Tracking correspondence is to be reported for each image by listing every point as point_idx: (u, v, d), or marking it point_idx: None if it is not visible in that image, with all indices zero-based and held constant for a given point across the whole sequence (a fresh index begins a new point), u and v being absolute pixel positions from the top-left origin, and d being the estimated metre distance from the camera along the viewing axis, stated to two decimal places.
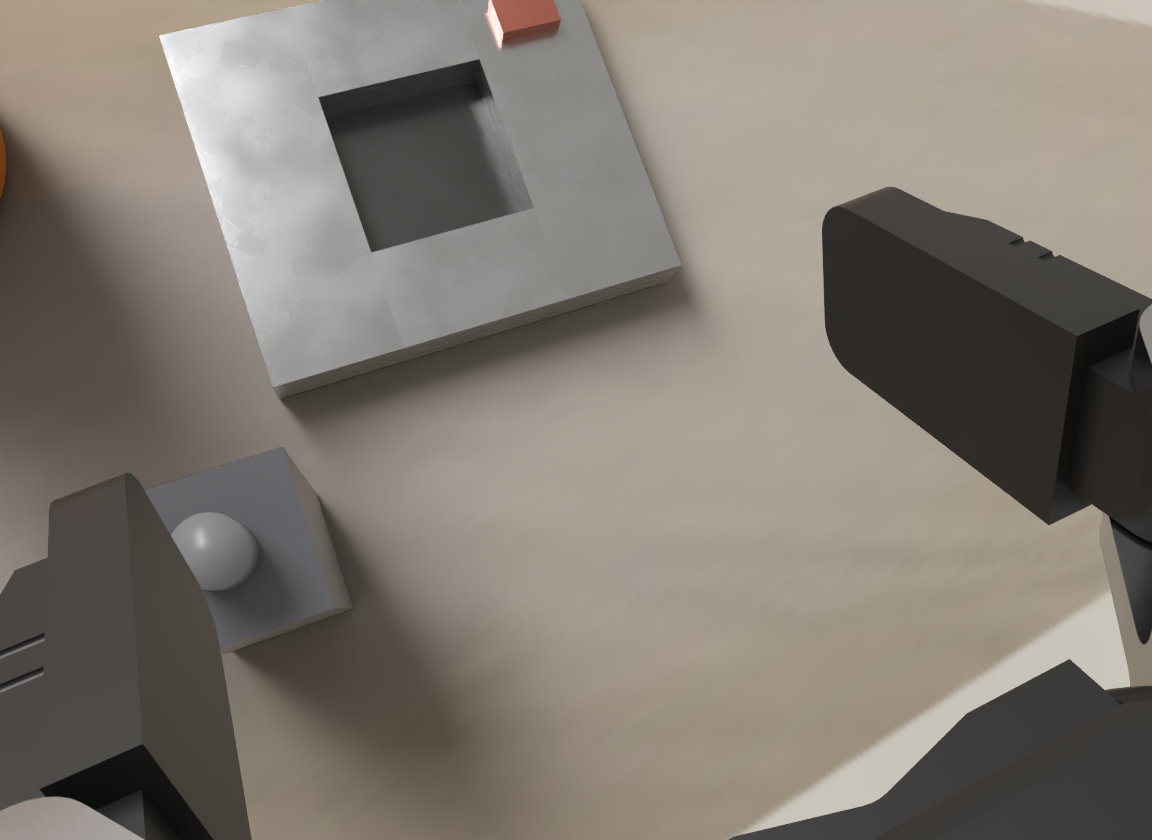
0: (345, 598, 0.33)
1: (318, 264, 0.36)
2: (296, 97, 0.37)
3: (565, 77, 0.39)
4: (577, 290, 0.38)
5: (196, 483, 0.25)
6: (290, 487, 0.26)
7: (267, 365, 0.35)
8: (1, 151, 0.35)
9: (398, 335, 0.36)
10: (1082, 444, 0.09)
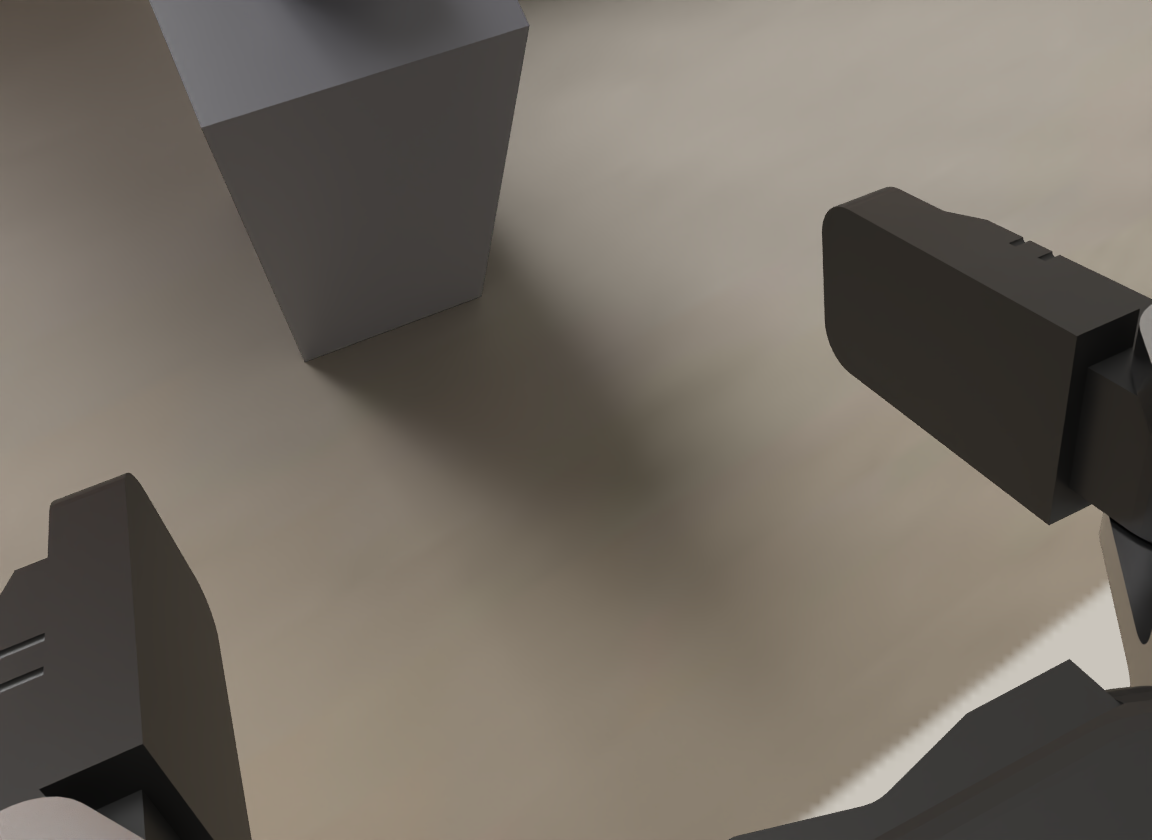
0: None
1: None
2: None
3: None
4: None
5: None
6: None
7: None
8: None
9: None
10: (1082, 444, 0.09)
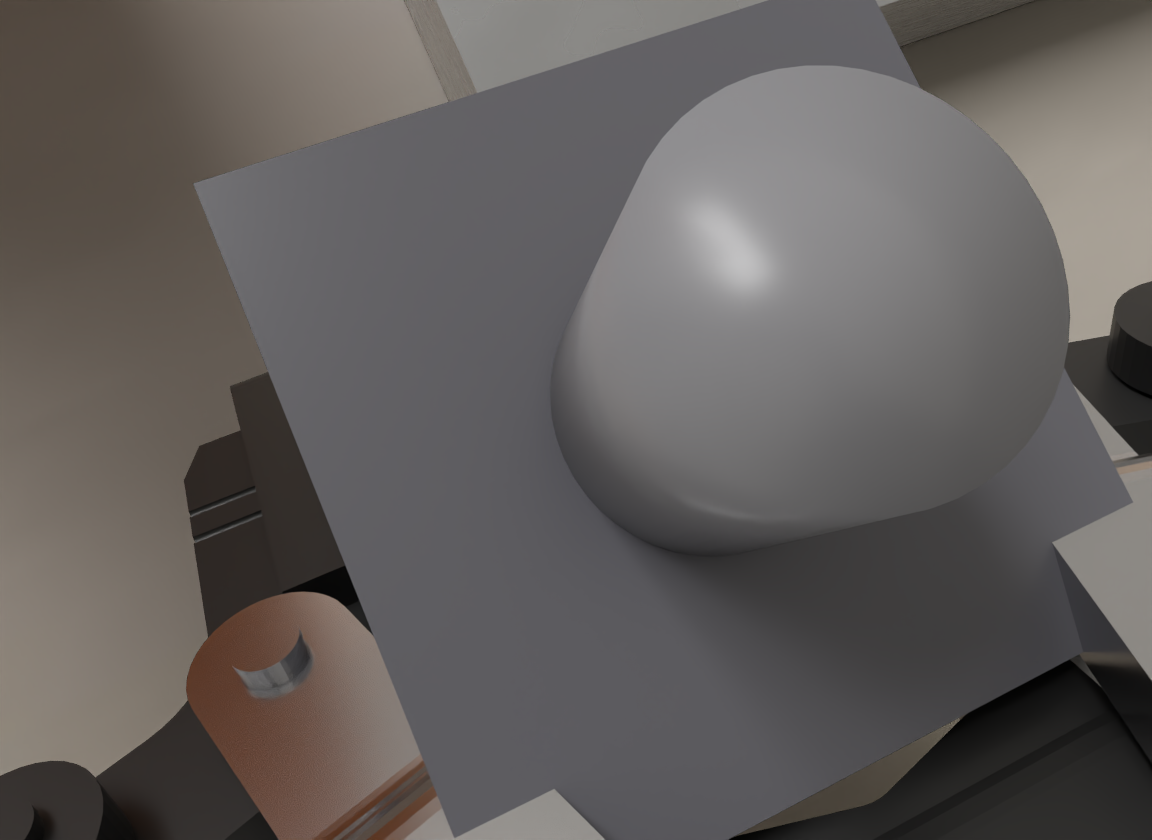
0: None
1: None
2: None
3: None
4: None
5: (557, 106, 0.06)
6: None
7: (479, 88, 0.16)
8: None
9: None
10: None
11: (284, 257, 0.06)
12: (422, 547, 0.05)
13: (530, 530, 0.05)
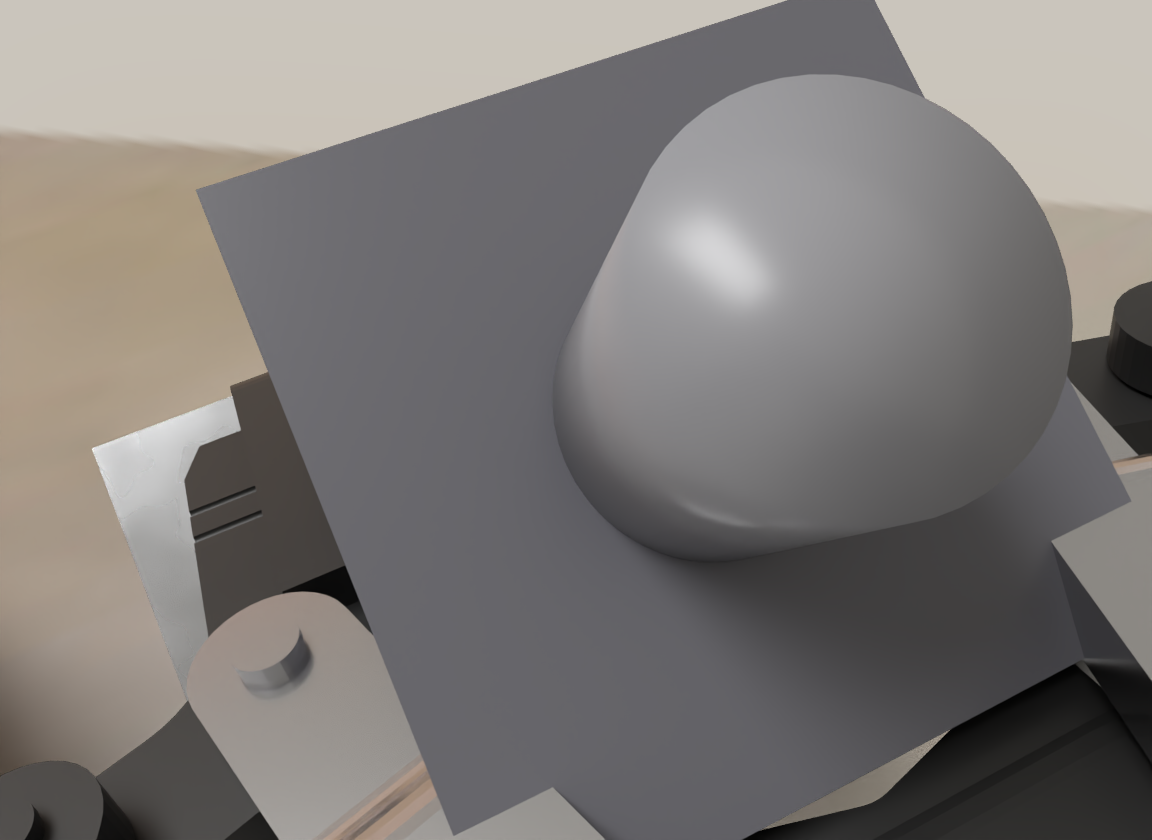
0: None
1: None
2: None
3: None
4: None
5: (559, 112, 0.06)
6: None
7: None
8: None
9: None
10: None
11: (286, 264, 0.06)
12: (424, 551, 0.05)
13: (531, 535, 0.05)
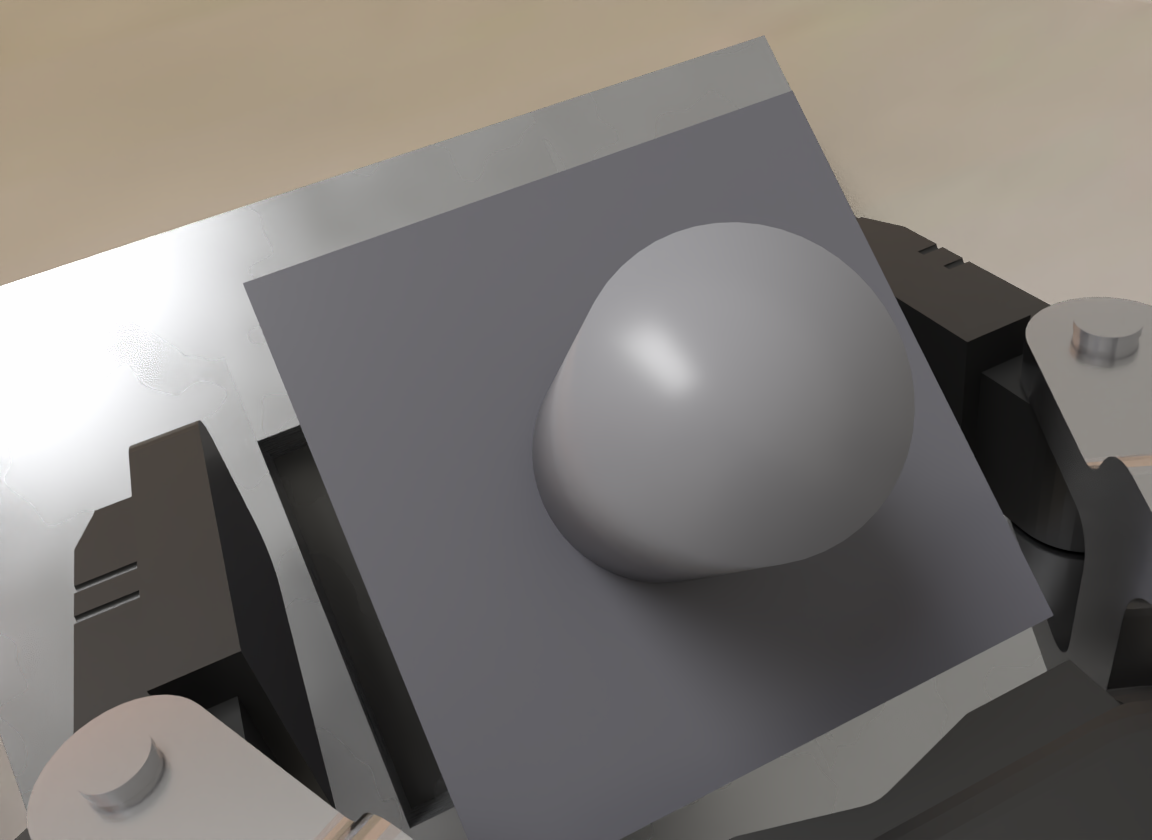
0: None
1: None
2: None
3: None
4: None
5: (538, 213, 0.07)
6: (840, 220, 0.08)
7: None
8: None
9: None
10: (980, 447, 0.09)
11: (316, 342, 0.07)
12: (430, 576, 0.07)
13: (516, 562, 0.07)
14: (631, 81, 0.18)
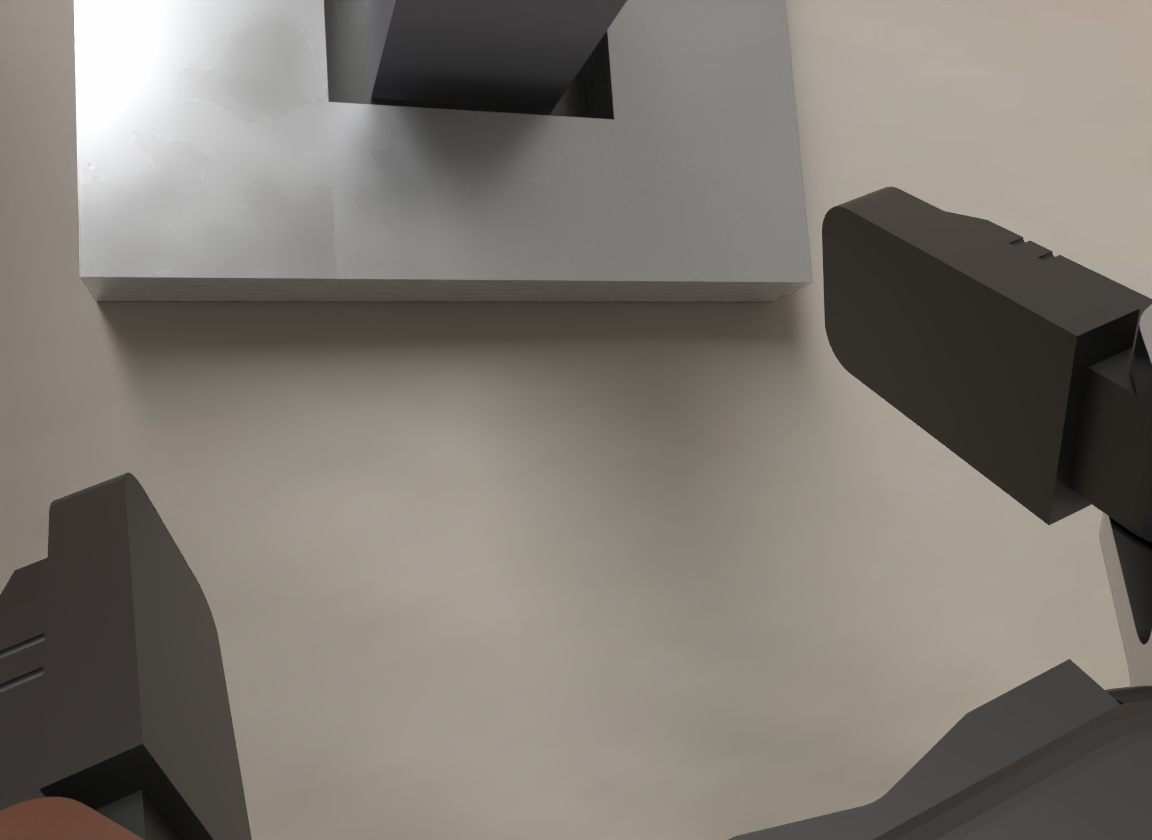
0: None
1: (229, 90, 0.20)
2: None
3: None
4: (647, 272, 0.23)
5: None
6: None
7: (82, 235, 0.19)
8: None
9: (334, 254, 0.20)
10: (1082, 444, 0.09)
11: None
12: None
13: None
14: None
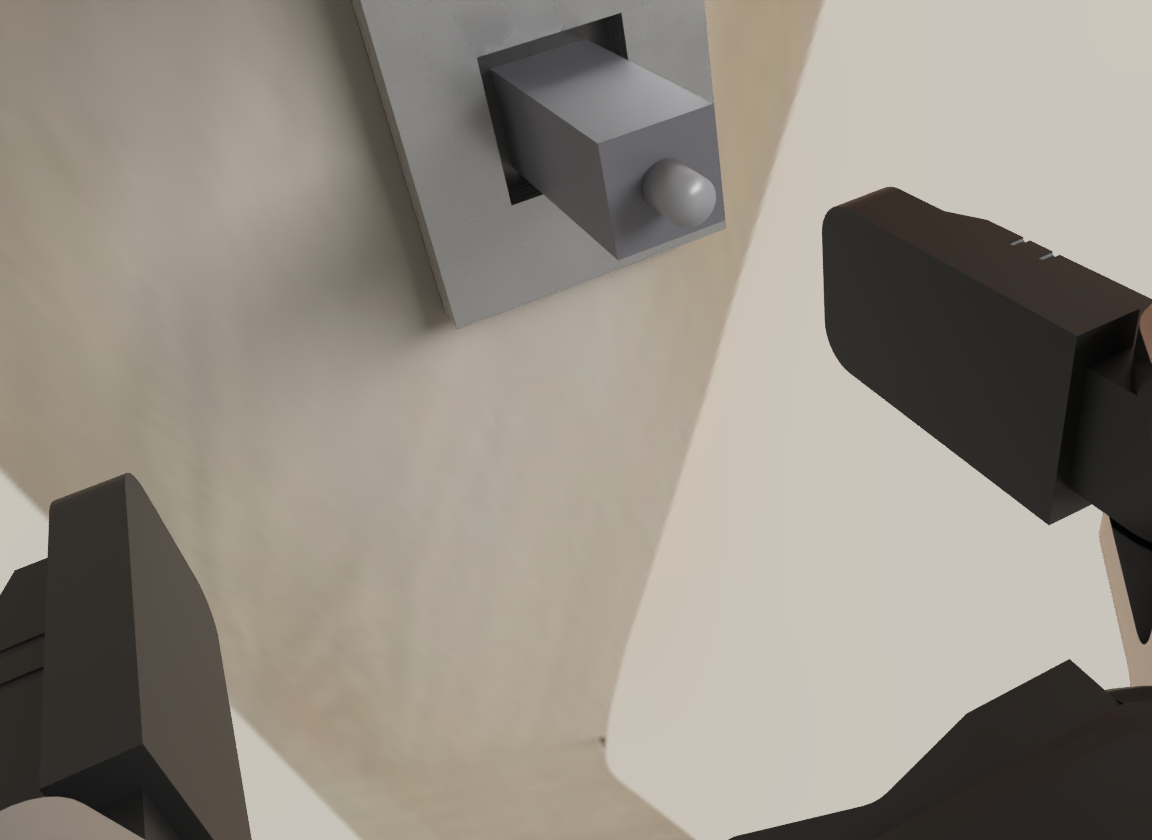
0: None
1: (467, 5, 0.38)
2: None
3: None
4: (437, 243, 0.42)
5: (713, 164, 0.35)
6: (698, 227, 0.36)
7: None
8: None
9: (397, 81, 0.38)
10: (1082, 444, 0.09)
11: (699, 117, 0.34)
12: (654, 136, 0.33)
13: (652, 153, 0.34)
14: None
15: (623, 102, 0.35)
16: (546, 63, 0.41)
